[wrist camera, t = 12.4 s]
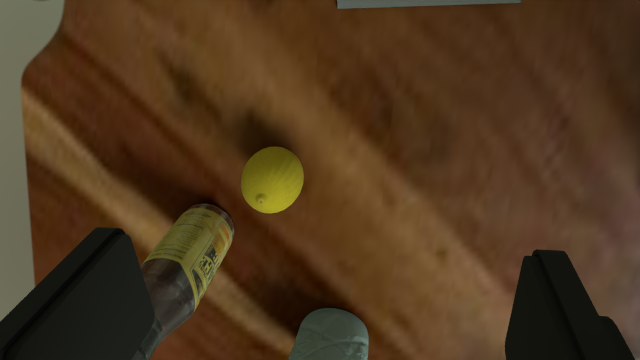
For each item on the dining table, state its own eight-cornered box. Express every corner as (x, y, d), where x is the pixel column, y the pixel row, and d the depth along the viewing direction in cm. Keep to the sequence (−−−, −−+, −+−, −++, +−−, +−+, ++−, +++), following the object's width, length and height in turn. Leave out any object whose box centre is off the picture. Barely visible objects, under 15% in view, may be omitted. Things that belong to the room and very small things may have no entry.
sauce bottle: (229, 253, 51) (145, 415, 34) (178, 232, 51) (67, 387, 34) (244, 210, 48) (159, 367, 31) (190, 188, 47) (73, 334, 30)
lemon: (250, 135, 43) (222, 174, 36) (306, 132, 42) (288, 171, 35) (261, 184, 46) (237, 229, 39) (313, 182, 45) (298, 228, 38)
